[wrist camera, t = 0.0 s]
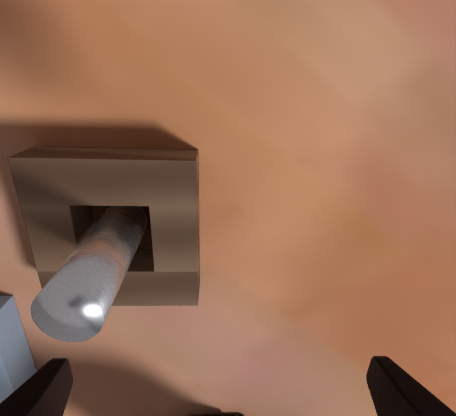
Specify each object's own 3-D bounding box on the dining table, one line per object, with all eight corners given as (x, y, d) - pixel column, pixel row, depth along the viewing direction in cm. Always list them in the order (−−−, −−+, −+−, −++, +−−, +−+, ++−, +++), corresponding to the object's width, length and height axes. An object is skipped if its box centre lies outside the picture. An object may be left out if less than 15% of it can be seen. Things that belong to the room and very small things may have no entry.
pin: (149, 239, 24) (107, 341, 15) (107, 239, 24) (39, 342, 15) (145, 201, 23) (98, 287, 13) (101, 200, 22) (23, 287, 13)
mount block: (199, 280, 26) (197, 305, 23) (64, 280, 25) (46, 306, 22) (198, 149, 21) (195, 160, 18) (35, 146, 21) (7, 157, 18)
